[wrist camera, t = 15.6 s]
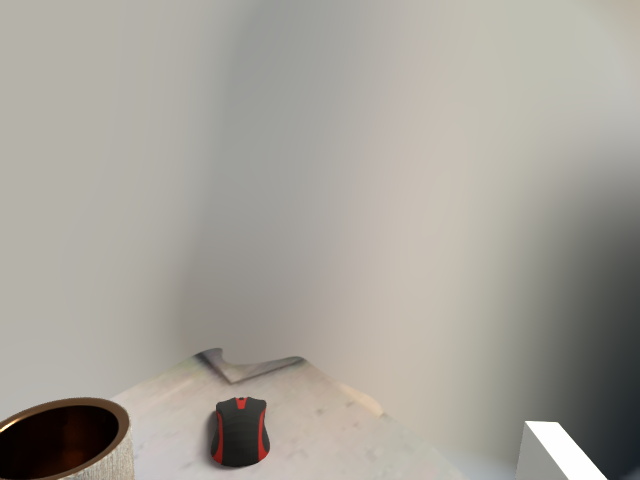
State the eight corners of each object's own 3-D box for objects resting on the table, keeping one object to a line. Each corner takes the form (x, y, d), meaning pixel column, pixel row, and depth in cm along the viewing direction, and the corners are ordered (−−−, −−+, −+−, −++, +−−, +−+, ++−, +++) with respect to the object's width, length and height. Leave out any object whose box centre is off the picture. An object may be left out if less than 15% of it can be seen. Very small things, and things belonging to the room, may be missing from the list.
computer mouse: (266, 405, 56) (267, 376, 55) (271, 467, 45) (272, 432, 44) (215, 408, 55) (215, 379, 54) (208, 471, 44) (208, 436, 43)
